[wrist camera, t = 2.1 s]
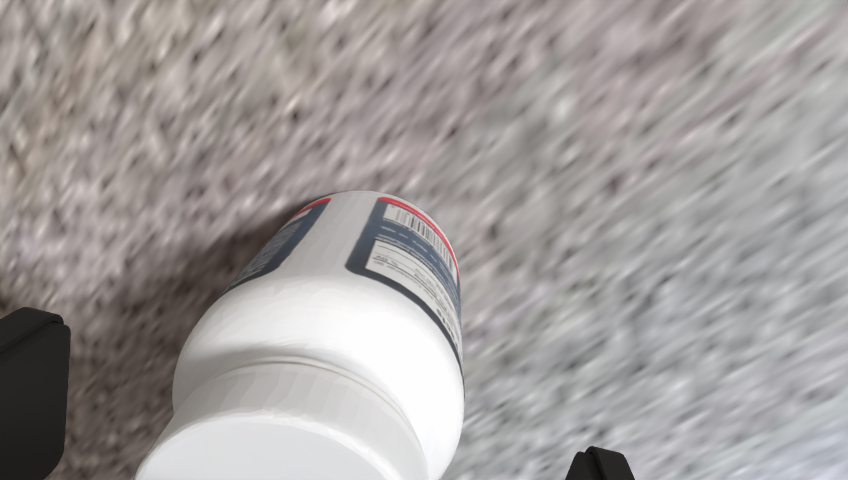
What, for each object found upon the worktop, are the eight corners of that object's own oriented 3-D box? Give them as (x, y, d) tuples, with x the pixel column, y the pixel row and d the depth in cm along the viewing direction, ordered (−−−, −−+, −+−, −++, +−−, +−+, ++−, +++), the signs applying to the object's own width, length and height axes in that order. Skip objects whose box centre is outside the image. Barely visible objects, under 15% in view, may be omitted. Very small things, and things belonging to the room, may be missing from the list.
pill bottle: (285, 359, 17) (114, 673, 8) (263, 189, 15) (19, 368, 7) (462, 358, 16) (469, 684, 8) (460, 184, 15) (467, 368, 6)
